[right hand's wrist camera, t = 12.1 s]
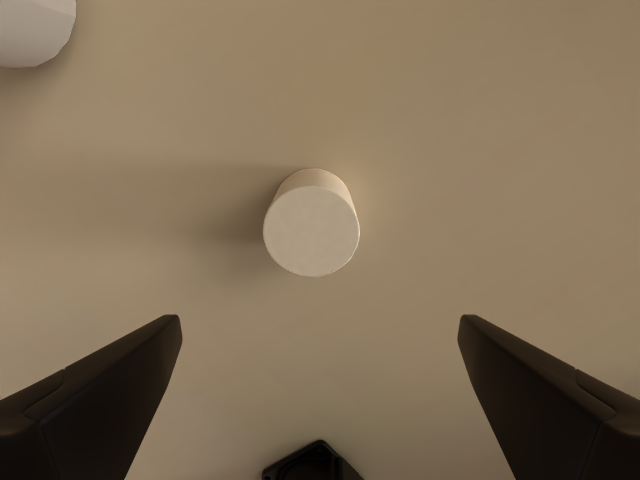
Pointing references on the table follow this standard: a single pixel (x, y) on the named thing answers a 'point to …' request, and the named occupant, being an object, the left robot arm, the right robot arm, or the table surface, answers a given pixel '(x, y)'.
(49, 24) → the can
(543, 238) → the table surface
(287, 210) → the canister
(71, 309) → the table surface
